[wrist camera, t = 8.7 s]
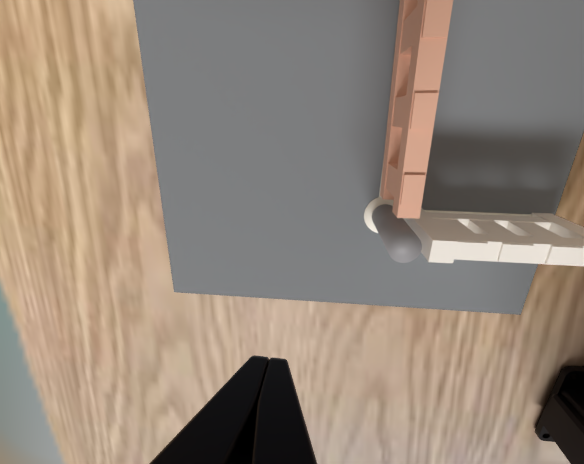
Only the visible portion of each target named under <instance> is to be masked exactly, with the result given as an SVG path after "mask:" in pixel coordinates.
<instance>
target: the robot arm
mask: <svg viewBox="0 0 584 464" xmlns="http://www.w3.org/2000/svg"><path fill="white" fill-rule="evenodd" d="M535 433H536V434H537V436H538V437H539V439H541V440H543V441H552V442H556V444H557V445H558V447H559V448H560V449H561V451H562V452H563V453H564V455H565V456H566V458H567V459H568V460H569V462H570V463H571V464H584V367H576V366H568V367H565V368H564V369H562V371H561V372H560V375H559V377H558V379H557V381H556V384H555V386H554V388H553V390H552V393H551V395H550V397H549V400H548V402H547V404H546V406H545V409H544V411H543V413H542V416H541V418H540V420H539V422H538V425H537V427H536V429H535ZM150 464H317V462H316V458H315V455H314V451H313V448H312V444H311V441H310V438H309V434H308V431H307V427H306V424H305V420H304V417H303V413H302V410H301V406H300V403H299V400H298V396H297V393H296V389H295V386H294V382H293V379H292V375H291V372H290V368H289V365H288V362H287V360H286V359H280V358H270V360H269V358H268V357H263V356H252V357H250V358H249V360H248V361H247V362H246V363H245V364H244V365H243V366H242V367H241V368H240V369H239V370H238V371H237V372H236V373H235V374H234V375H233V376H232V377H231V379H230V380H229V381H228V382H227V383H226V384H225V385H224V386H223V387H222V388H221V389H220V390H219V391H218V392H217V393H216V394H215V395H214V396H213V397H212V399H211V400H210V401H209V402H208V403H207V404H206V405H205V406H204V407H203V408H202V409H201V410H200V411H199V412H198V413H197V414H196V415H195V416H194V417H193V419H192V420H191V421H190V422H189V423H188V424H187V425H186V426H185V427H184V428H183V429H182V430H181V431H180V432H179V433H178V434H177V435H176V436H175V437H174V439H173V440H172V441H171V442H170V443H169V444H168V445H167V446H166V447H165V448H164V449H163V450H162V451H161V452H160V453H159V454H158V455H157V456H156V457H155V459H154V460H153V461H152V462H151V463H150Z"/></svg>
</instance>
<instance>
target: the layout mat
mask: <svg viewBox="0 0 584 464" xmlns="http://www.w3.org/2000/svg"><path fill="white" fill-rule="evenodd" d="M133 2H134V9H135V16H136V23H137V31H138V38H139V45H140V52H141V59H142V66H143V73H144V80H145V87H146V95H147V102H148V109H149V116H150V123H151V130H152V137H153V144H154V152H155V159H156V166H157V173H158V180H159V187H160V194H161V201H162V208H163V216H164V223H165V230H166V237H167V244H168V251H169V258H170V265H171V273H172V280H173V287H174V292H180V293H196V294H211V295H226V296H242V297H257V298H273V299H288V300H303V301H319V302H334V303H350V304H365V305H380V306H396V307H411V308H427V309H442V310H457V311H473V312H488V313H503V314H519V315H521V312H522V309H523V306H524V303H525V300H526V297H527V294H528V292H529V289H530V286H531V283H532V280H533V277H534V274H535V271H536V268H537V266H538V264H531V263H512V262H493V261H474V260H455V259H454V262H453V263H435V262H428V261H427V259H426V258H425V257H424V255H423V254H422V253H420V255H419V256H418V257H417V258H416V259H415V260H413V261H411V262H408V263H399V262H396V261H394V260H393V259H392V258H391V257H390V255H389V253H388V251H387V249H386V247H385V245H384V243H383V241H382V239H381V237H380V235H379V233H378V231H377V229H376V227H375V225H374V223H373V221H372V213H373V211H374V209H375V208H376V207H378V206H379V205H382V204H389V205H391V206H393V202H394V200H387V199H382V197H381V196H380V189H381V179H382V169H383V160H384V150H385V140H386V130H387V121H388V111H389V101H390V91H391V82H392V72H393V62H394V52H395V42H396V33H397V23H398V13H399V3H400V0H133ZM583 132H584V0H453V5H452V12H451V18H450V25H449V31H448V38H447V44H446V51H445V57H444V64H443V70H442V76H441V83H440V89H439V96H438V102H437V109H436V115H435V122H434V128H433V135H432V141H431V148H430V154H429V161H428V167H427V174H426V180H425V186H424V193H423V199H422V206H421V208H422V209H423V210H424V211H425V212H436V213H456V214H483V215H508V216H528V217H532V213H552V214H554V215H555V213H556V211H557V208H558V205H559V202H560V199H561V196H562V193H563V190H564V187H565V185H566V182H567V179H568V176H569V173H570V170H571V167H572V164H573V161H574V159H575V156H576V153H577V150H578V147H579V144H580V141H581V138H582V135H583Z"/></svg>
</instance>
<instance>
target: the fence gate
mask: <svg viewBox="0 0 584 464" xmlns="http://www.w3.org/2000/svg"><path fill="white" fill-rule="evenodd" d="M452 5H453V0H400V3H399V13H398V23H397V33H396V42H395V52H394V62H393V72H392V82H391V91H390V101H389V111H388V121H387V130H386V140H385V150H384V160H383V169H382V179H381V189H380V196H381V197H382V199H387V200H394V202H393V206H391V205H389V204H382V205H379V206H378V207H376V208H375V209H374V211H373V213H372V221H373V223H374V225H375V227H376V229H377V231H378V233H379V235H380V237H381V239H382V241H383V243H384V245H385V247H386V249H387V251H388V253H389V255H390V257H391V258H392V259H393V260H394V261H396V262H399V263H408V262H411V261H413V260H415V259H416V258H417V257H418V256H419V255H420V253H421V250H422V243H421V240H420V239H419V238H418V236H417V235H416V234H415V233H414V231H413V230H412V229H411V228H410V226H409V225H408V224H407V223H406V221H405V220H404V219H403V218H416V219H420V212H421V206H422V199H423V193H424V186H425V180H426V174H427V167H428V161H429V154H430V148H431V141H432V135H433V128H434V122H435V115H436V109H437V102H438V96H439V89H440V83H441V76H442V70H443V64H444V57H445V51H446V44H447V38H448V31H449V25H450V18H451V12H452Z"/></svg>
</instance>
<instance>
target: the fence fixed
mask: <svg viewBox="0 0 584 464" xmlns="http://www.w3.org/2000/svg"><path fill="white" fill-rule="evenodd" d="M403 219H404V220H405V221H406V223H407V224H408V225H409V226H410V228H411V229H412V230H413V231H414V233H415V234H416V235H417V236H418V238H419V239H420V240H421V243H422V250H421V253H422V254H423V255H424V257H425V258H426V259H427V261H428V262H435V263H453V262H454V259H455V260H474V261H493V262H512V263H531V264H550V265H569V266H584V227H582V226H580V225H578V224H575V223H573V222H571V221H568V220H566V219H563V218H561V217H559V216H556V215H554V214H552V213H532V217H528V216H508V215H483V214H456V213H436V212H425V211H424V210H423V209H422V208H421V212H420V219H416V218H403Z"/></svg>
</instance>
